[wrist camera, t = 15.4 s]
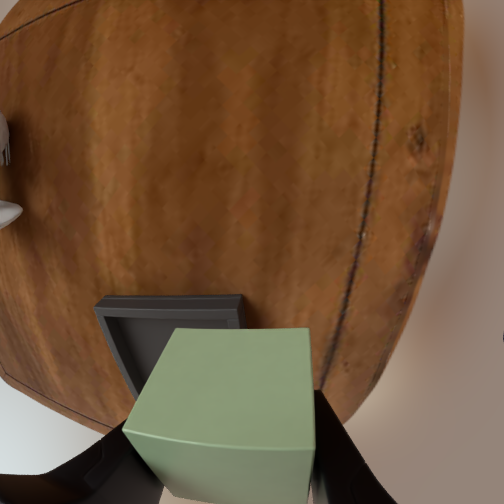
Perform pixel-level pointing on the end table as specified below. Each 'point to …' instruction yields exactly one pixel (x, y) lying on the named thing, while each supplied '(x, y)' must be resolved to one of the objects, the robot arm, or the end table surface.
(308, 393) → the block
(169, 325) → the tray
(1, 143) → the figurine
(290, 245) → the end table surface
